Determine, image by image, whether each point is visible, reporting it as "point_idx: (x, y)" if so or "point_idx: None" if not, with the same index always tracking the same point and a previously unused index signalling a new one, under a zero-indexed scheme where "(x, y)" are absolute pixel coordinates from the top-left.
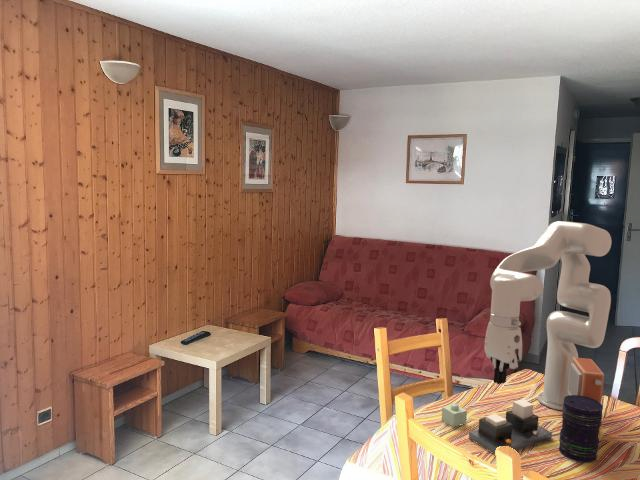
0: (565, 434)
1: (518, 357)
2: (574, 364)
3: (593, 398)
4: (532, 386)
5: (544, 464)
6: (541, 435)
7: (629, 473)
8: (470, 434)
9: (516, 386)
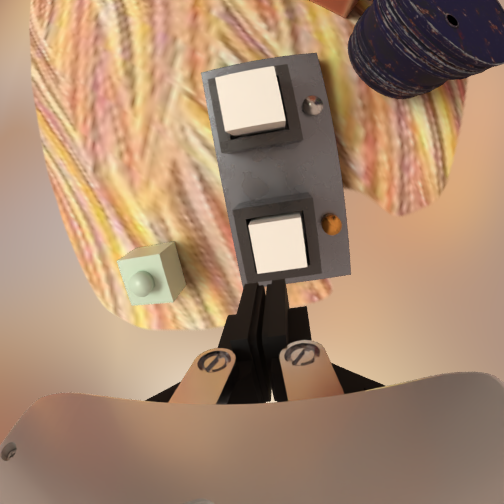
0: (413, 82)
1: (458, 404)
2: None
3: None
4: None
5: (411, 178)
6: (324, 94)
7: None
8: None
9: (59, 15)
